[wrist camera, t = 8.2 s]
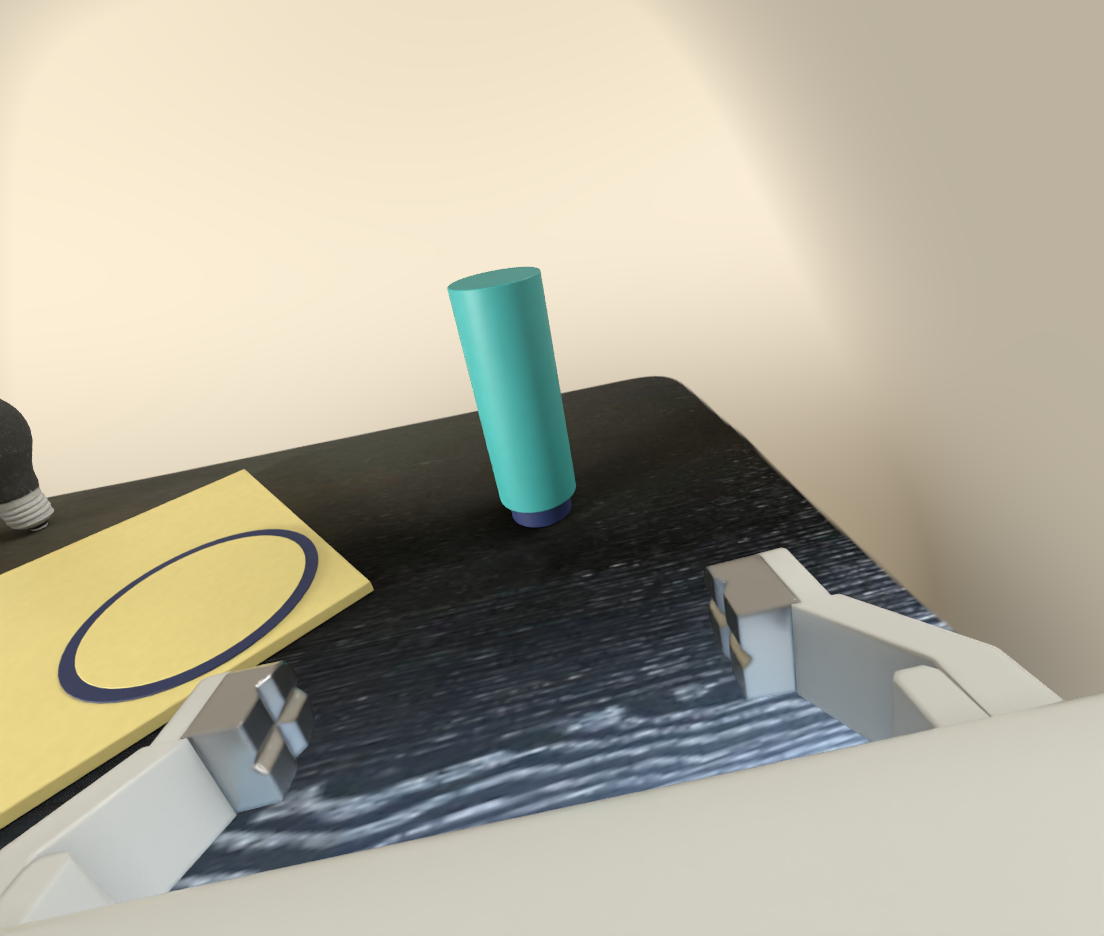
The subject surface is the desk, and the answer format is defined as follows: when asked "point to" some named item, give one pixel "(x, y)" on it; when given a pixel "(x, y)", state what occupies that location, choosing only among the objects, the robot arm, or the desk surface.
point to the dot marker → (516, 390)
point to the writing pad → (150, 626)
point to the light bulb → (19, 475)
